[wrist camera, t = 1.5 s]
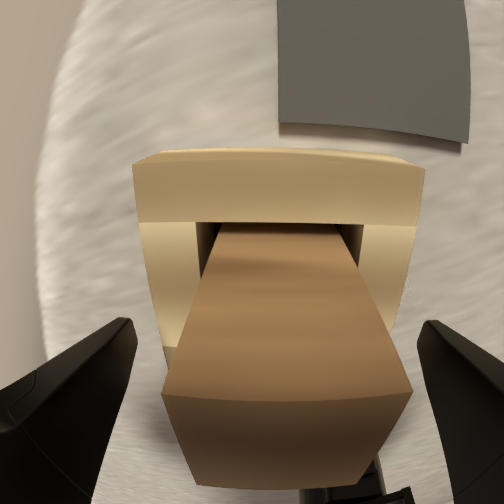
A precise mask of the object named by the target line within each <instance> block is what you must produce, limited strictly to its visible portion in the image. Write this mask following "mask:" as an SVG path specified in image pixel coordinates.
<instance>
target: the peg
mask: <svg viewBox="0 0 504 504" xmlns="http://www.w3.org/2000/svg"><path fill="white" fill-rule="evenodd" d="M412 393H413V389H412V387H411V384H410V382H409V379H408V377H407V375H406V372H405V370H404V367H403V365H402V363H401V360H400V358H399V355H398V353H397V351H396V348H395V346H394V344H393V342H392V339H391V337H390V335H389V333H388V330H387V328H386V326H385V324H384V322H383V319H382V317H381V315H380V313H379V311H378V309H377V307H376V304H375V302H374V300H373V298H372V296H371V294H370V292H369V290H368V288H367V286H366V284H365V282H364V280H363V278H362V276H361V274H360V272H359V270H358V268H357V266H356V264H355V262H354V260H353V258H352V256H351V254H350V252H349V250H348V249H347V247H346V245H345V243H344V241H343V239H342V237H341V235H340V234H339V232H338V230H337V228H336V226H335V224H331V223H282V222H222V225H221V228H220V230H219V233H218V235H217V238H216V241H215V243H214V246H213V248H212V251H211V254H210V256H209V259H208V262H207V264H206V267H205V270H204V272H203V275H202V278H201V281H200V283H199V286H198V289H197V291H196V294H195V297H194V300H193V302H192V305H191V308H190V311H189V314H188V316H187V319H186V322H185V325H184V328H183V331H182V333H181V336H180V339H179V342H178V345H177V348H176V351H175V354H174V357H173V359H172V362H171V365H170V368H169V371H168V374H167V377H166V380H165V383H164V386H163V389H162V392H161V395H162V398H163V401H164V404H165V407H166V409H167V412H168V415H169V418H170V420H171V423H172V426H173V429H174V431H175V434H176V436H177V439H178V441H179V444H180V446H181V449H182V451H183V454H184V456H185V459H186V461H187V463H188V466H189V468H190V470H191V473H192V475H193V477H194V479H195V482H196V484H197V485H202V486H211V487H222V488H236V489H260V490H288V489H311V488H325V487H336V486H345V485H353V484H356V483H357V482H358V481H359V479H360V478H361V477H362V475H363V474H364V472H365V471H366V470H367V468H368V467H369V465H370V464H371V462H372V461H373V459H374V458H375V456H376V455H377V453H378V452H379V450H380V449H381V447H382V445H383V444H384V442H385V441H386V439H387V437H388V436H389V434H390V433H391V431H392V429H393V427H394V426H395V424H396V422H397V421H398V419H399V417H400V415H401V414H402V412H403V410H404V408H405V406H406V404H407V403H408V401H409V399H410V397H411V395H412Z"/></svg>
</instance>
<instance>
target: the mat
mask: <svg viewBox="0 0 504 504" xmlns="http://www.w3.org/2000/svg"><path fill="white" fill-rule="evenodd" d="M277 4H278V59H279V122H289V123H314V124H330V125H344V126H355V127H365V128H374V129H383V130H391V131H398V132H405V133H412V134H418V135H424V136H430V137H436V138H441V139H446V140H451V141H456V142H461V143H466V144H468V139H469V124H470V95H471V82H470V54H469V40H468V29H467V20H466V13H465V6H464V0H277Z"/></svg>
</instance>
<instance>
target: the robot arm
mask: <svg viewBox="0 0 504 504" xmlns="http://www.w3.org/2000/svg"><path fill="white" fill-rule="evenodd" d="M137 345H138V340H137V336H136V332H135V328H134V325H133V322H132V320H131V319H130V318H124V317H118V318H116V319H115V320H113V321H112V322H110V323H108V324H107V325H105V326H103V327H102V328H100V329H99V330H97V331H95V332H94V333H92V334H91V335H89V336H87V337H86V338H84V339H83V340H81V341H79V342H78V343H76V344H75V345H73V346H71V347H70V348H68V349H67V350H65V351H64V352H62V353H60V354H59V355H57V356H56V357H54V358H52V359H51V360H49V361H48V362H46V363H45V364H43V365H41V366H40V367H38V368H37V369H36V370H34V371H32V372H30V373H29V374H27V375H26V376H24V377H23V378H21V379H19V380H17V381H16V382H14V383H12V384H11V385H9V386H7V387H5V388H3V389H2V390H0V504H91V501H92V499H91V498H92V496H93V493H94V489H95V486H96V482H97V479H98V475H99V472H100V468H101V465H102V462H103V459H104V455H105V452H106V449H107V446H108V443H109V439H110V436H111V433H112V430H113V427H114V424H115V421H116V418H117V415H118V412H119V409H120V406H121V404H122V401H123V398H124V395H125V392H126V389H127V386H128V382H129V378H130V374H131V370H132V366H133V361H134V357H135V353H136V349H137ZM417 350H418V354H419V358H420V363H421V367H422V372H423V377H424V381H425V386H426V389H427V393H428V396H429V399H430V403H431V406H432V409H433V413H434V416H435V420H436V423H437V427H438V431H439V435H440V438H441V442H442V446H443V451H444V455H445V459H446V463H447V468H448V473H449V477H450V482H451V487H452V493H453V497H454V498H453V499H454V504H504V363H503V362H502V361H500V360H499V359H497V358H496V357H494V356H493V355H491V354H489V353H488V352H486V351H485V350H483V349H482V348H480V347H479V346H477V345H476V344H474V343H473V342H471V341H470V340H468V339H466V338H465V337H463V336H462V335H460V334H459V333H457V332H456V331H454V330H452V329H451V328H449V327H448V326H446V325H444V324H443V323H441V322H440V321H438V320H427V321H425V322H424V324H423V327H422V329H421V332H420V335H419V338H418V341H417ZM299 498H300V504H415V502H414V498H413V495H412V492H411V488H410V486H409V487H406V488H403V489H401V490H400V491H397V492H394V493H390V494H386V489H385V484H384V478H383V474H382V469H381V464H380V459H379V455H378V453H377V455H376V456H375V458H374V459H373V461H372V462H371V464H370V465H369V467H368V468H367V470H366V471H365V472H364V474H363V475H362V477H361V478H360V479H359V481H358V482H357V483H356V484H353V485H345V486H336V487H325V488H311V489H299Z"/></svg>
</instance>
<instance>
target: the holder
mask: <svg viewBox="0 0 504 504" xmlns="http://www.w3.org/2000/svg"><path fill="white" fill-rule="evenodd" d="M132 171H133V180H134V190H135V198H136V206H137V214H138V221H139V228H140V235H141V241H142V248H143V254H144V260H145V265H146V271H147V277H148V282H149V287H150V292H151V297H152V302H153V307H154V311H155V316H156V321H157V325H158V329H159V334H160V338H161V342H162V346H163V350H164V354H165V358H166V362H167V366H168V370H169V368H170V365H171V362H172V359H173V357H174V354H175V351H176V348H177V345H178V342H179V339H180V336H181V333H182V331H183V328H184V325H185V322H186V319H187V316H188V314H189V311H190V308H191V305H192V302H193V300H194V297H195V294H196V291H197V289H198V286H199V283H200V281H201V278H202V275H203V272H204V270H205V267H206V264H207V262H208V259H209V256H210V254H211V251H212V248H213V246H214V230H213V222H282V223H331V224H341V227H340V235H341V237H342V239H343V241H344V243H345V245H346V247H347V249H348V250H349V252H350V254H351V256H352V258H353V260H354V262H355V264H356V266H357V268H358V270H359V272H360V274H361V276H362V278H363V280H364V282H365V284H366V286H367V288H368V290H369V292H370V294H371V296H372V298H373V300H374V302H375V304H376V307H377V309H378V311H379V313H380V315H381V317H382V319H383V322H384V324H385V326H386V328H387V330H388V333H389V335H390V334H391V331H392V327H393V324H394V321H395V317H396V314H397V310H398V307H399V303H400V299H401V296H402V292H403V288H404V284H405V280H406V276H407V272H408V267H409V263H410V258H411V254H412V249H413V244H414V239H415V234H416V228H417V223H418V217H419V211H420V204H421V198H422V191H423V183H424V175H425V169H422V168H420V167H418V166H416V165H414V164H411V163H409V162H407V161H404V160H402V159H400V158H397V157H395V156H393V155H388V154H378V153H367V152H355V151H341V150H325V149H302V148H209V149H187V150H170V151H161V152H159V153H157V154H154V155H152V156H150V157H147V158H145V159H143V160H141V161H138V162H136V163H134V164H132Z"/></svg>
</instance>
